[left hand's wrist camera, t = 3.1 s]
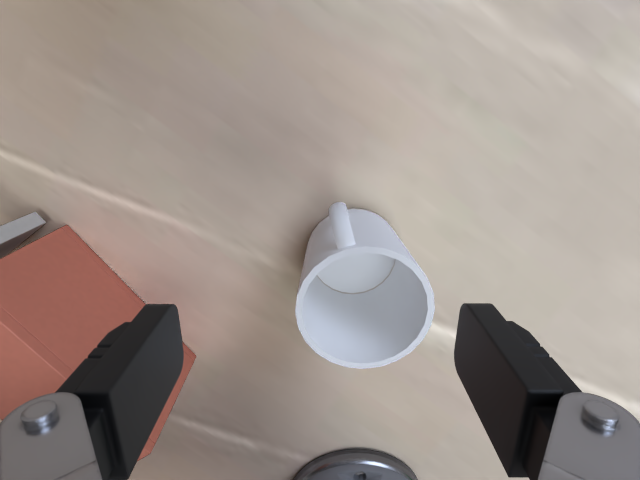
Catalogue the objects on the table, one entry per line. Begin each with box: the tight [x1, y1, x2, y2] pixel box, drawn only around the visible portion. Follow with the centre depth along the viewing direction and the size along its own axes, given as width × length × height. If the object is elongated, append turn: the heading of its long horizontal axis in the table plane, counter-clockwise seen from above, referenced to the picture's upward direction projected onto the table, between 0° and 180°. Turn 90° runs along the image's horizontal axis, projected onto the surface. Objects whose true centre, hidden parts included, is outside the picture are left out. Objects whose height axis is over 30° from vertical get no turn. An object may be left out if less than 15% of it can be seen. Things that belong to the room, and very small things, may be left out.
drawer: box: [0, 212, 46, 258], centre depth 31 cm, size 22×5×9 cm, turn 36°
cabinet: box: [0, 225, 196, 461], centre depth 32 cm, size 17×6×11 cm, turn 36°
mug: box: [295, 202, 435, 369], centre depth 30 cm, size 11×9×10 cm
